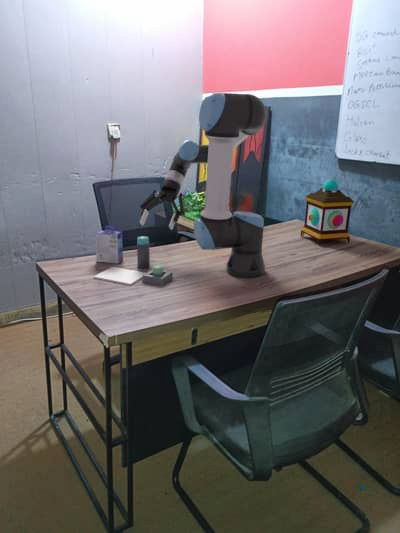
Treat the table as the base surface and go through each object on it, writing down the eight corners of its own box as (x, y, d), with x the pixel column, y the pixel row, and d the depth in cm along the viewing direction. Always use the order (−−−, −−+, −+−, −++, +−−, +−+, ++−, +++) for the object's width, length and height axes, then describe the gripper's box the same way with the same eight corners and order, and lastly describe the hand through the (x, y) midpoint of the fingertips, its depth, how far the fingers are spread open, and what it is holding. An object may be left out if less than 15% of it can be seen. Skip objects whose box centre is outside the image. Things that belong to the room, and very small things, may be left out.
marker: (151, 265, 174) (151, 237, 170) (145, 269, 170) (145, 240, 166) (141, 264, 176) (140, 235, 172) (135, 267, 171) (134, 238, 167)
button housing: (172, 278, 161) (172, 271, 161) (162, 285, 154) (162, 278, 154) (153, 274, 164) (153, 268, 164) (142, 281, 158) (142, 275, 157)
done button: (165, 274, 160) (165, 266, 159) (159, 277, 156) (159, 269, 155) (155, 272, 161) (155, 264, 160) (150, 275, 158) (150, 267, 157)
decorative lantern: (296, 236, 221) (302, 176, 211) (330, 233, 227) (337, 175, 217) (317, 247, 203) (325, 183, 193) (353, 244, 209) (362, 182, 199)
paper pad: (147, 274, 164) (147, 273, 164) (130, 285, 154) (130, 283, 154) (112, 268, 170) (112, 266, 170) (93, 277, 160) (93, 276, 160)
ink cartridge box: (124, 259, 180) (122, 226, 175) (119, 264, 175) (117, 229, 170) (101, 257, 182) (99, 224, 177) (96, 262, 177) (94, 227, 172)
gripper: (201, 191, 183) (186, 234, 175) (150, 186, 193) (133, 227, 185) (196, 180, 177) (180, 224, 169) (144, 176, 186) (126, 217, 178)
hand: (155, 226), depth 177 cm, fingers open, 13 cm apart
